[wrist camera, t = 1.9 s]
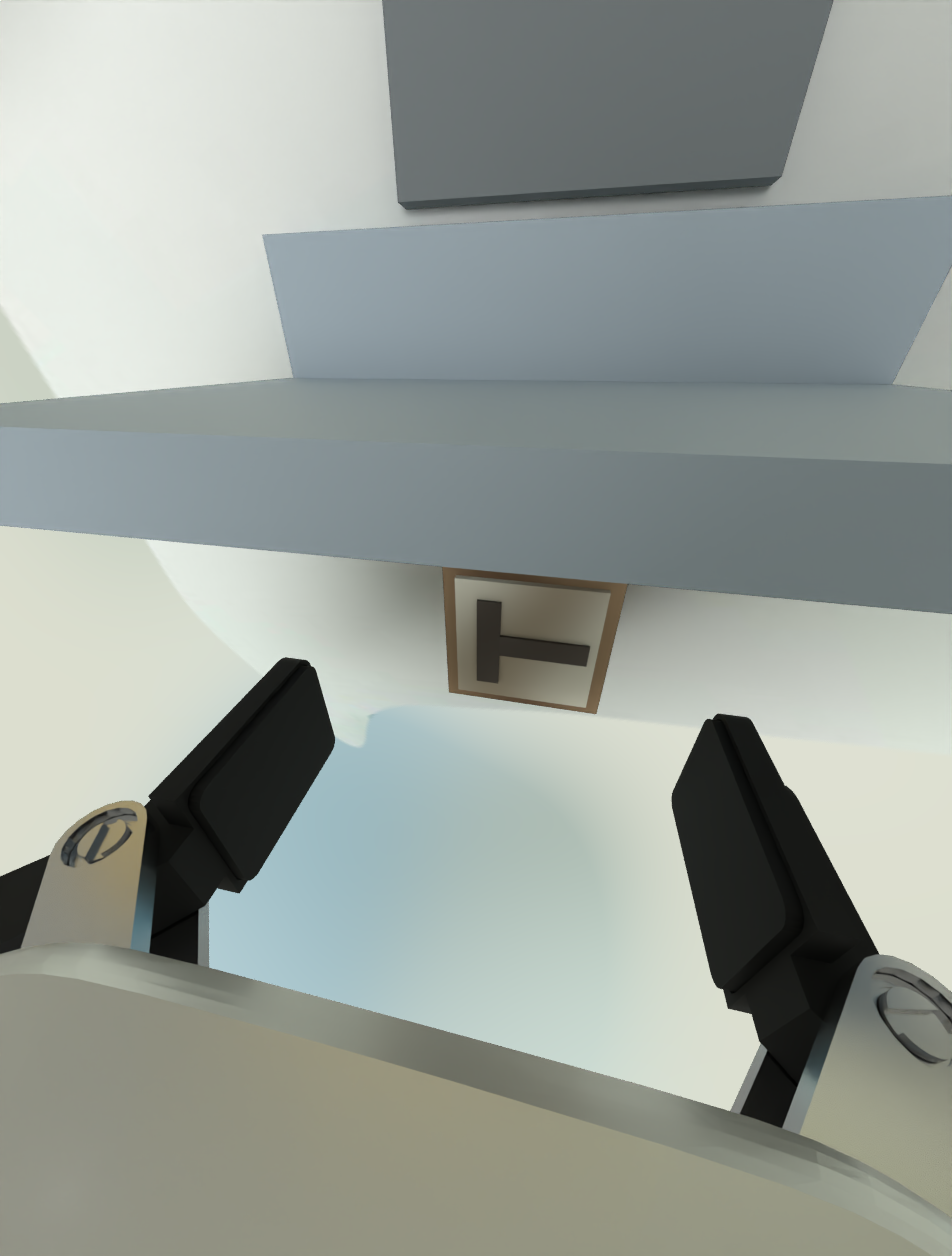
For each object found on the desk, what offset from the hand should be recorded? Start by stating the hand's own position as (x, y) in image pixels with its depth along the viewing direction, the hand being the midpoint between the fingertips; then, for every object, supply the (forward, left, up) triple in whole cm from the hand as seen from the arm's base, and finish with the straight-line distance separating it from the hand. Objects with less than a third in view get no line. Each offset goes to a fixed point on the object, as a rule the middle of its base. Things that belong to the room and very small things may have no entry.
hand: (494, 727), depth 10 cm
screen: (0, -8, -8) cm, 11 cm away
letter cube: (0, 0, -8) cm, 8 cm away
